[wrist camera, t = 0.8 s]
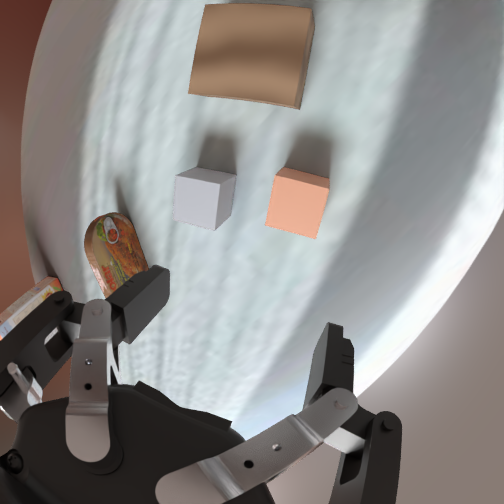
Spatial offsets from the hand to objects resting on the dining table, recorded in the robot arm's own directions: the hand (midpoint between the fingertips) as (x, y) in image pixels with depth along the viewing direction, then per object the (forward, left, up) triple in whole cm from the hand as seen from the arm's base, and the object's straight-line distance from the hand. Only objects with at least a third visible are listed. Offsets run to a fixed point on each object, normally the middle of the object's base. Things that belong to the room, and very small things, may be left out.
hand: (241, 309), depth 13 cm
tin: (+13, -21, -20) cm, 32 cm away
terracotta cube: (-1, +1, -19) cm, 19 cm away
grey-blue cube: (+1, -9, -19) cm, 21 cm away
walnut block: (-15, -6, -19) cm, 25 cm away
